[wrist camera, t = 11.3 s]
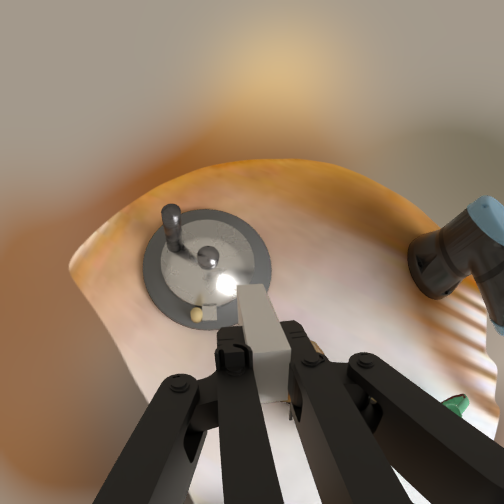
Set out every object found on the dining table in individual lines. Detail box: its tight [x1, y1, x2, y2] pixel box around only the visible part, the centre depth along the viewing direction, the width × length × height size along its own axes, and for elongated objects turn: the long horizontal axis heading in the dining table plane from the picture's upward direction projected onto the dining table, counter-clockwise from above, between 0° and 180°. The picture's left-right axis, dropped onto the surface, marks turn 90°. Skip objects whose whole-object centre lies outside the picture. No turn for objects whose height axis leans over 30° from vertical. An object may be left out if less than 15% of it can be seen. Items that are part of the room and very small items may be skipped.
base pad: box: [143, 209, 271, 330], centre depth 40 cm, size 20×20×4 cm
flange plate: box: [161, 204, 255, 322], centre depth 36 cm, size 14×16×10 cm
